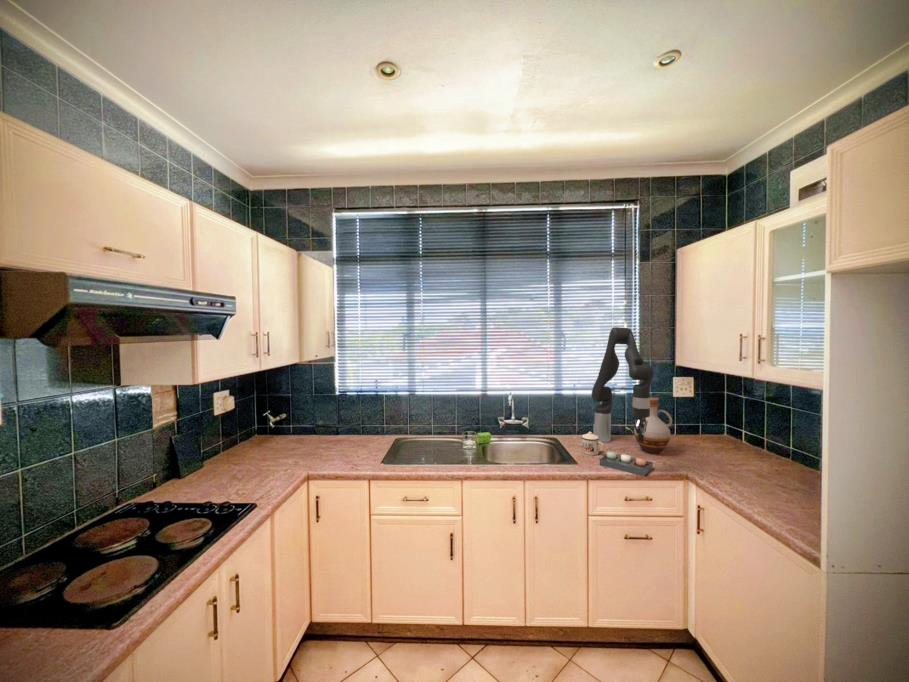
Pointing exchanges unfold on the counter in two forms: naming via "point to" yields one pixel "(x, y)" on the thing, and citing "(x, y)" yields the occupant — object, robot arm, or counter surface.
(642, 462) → the orange rounded piece
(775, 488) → the counter surface
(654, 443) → the jug
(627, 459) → the ivory button
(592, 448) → the teacup with lid
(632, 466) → the panel
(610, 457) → the sage button
